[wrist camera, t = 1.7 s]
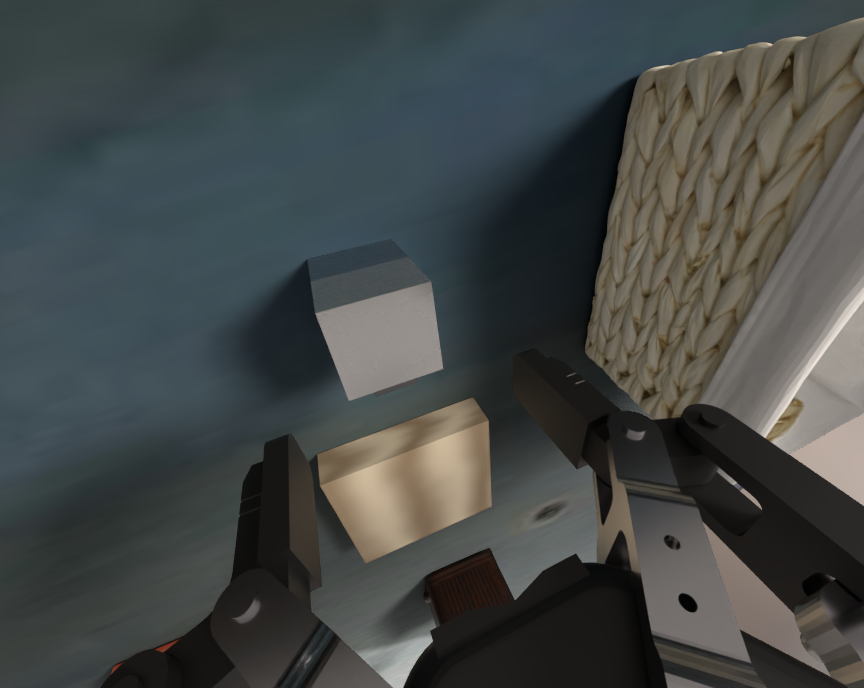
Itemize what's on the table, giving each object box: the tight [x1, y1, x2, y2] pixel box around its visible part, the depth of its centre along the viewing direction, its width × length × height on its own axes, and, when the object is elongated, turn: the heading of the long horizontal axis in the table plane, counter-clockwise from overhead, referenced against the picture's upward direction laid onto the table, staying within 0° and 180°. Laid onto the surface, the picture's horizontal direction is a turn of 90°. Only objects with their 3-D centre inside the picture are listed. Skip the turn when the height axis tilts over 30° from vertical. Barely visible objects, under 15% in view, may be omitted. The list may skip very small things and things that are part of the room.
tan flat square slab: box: [317, 397, 492, 563], centre depth 31 cm, size 14×14×3 cm
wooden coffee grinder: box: [424, 548, 515, 627], centre depth 44 cm, size 16×11×18 cm
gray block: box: [307, 239, 443, 401], centre depth 18 cm, size 5×6×7 cm
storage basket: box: [585, 18, 864, 485], centre depth 21 cm, size 24×16×15 cm
